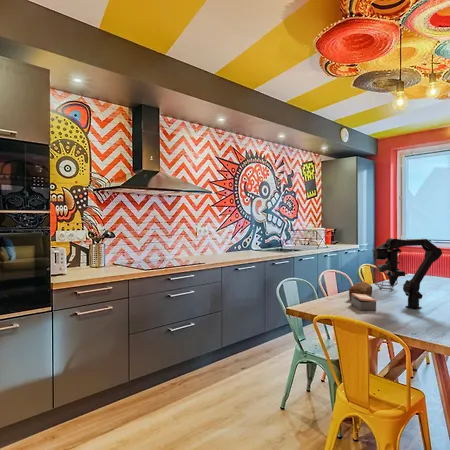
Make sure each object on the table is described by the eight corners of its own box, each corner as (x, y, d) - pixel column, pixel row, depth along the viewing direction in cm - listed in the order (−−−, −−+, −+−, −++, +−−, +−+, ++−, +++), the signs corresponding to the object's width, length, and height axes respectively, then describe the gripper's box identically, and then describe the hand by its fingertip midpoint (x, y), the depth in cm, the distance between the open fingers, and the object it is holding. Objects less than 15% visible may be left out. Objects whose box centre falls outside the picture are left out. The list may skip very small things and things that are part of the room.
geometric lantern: (394, 293, 245) (393, 243, 244) (371, 290, 255) (370, 243, 254) (400, 289, 257) (399, 242, 256) (378, 287, 267) (377, 241, 266)
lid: (365, 296, 212) (366, 294, 212) (376, 302, 198) (376, 300, 198) (351, 294, 212) (351, 293, 212) (360, 300, 198) (360, 298, 198)
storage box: (365, 304, 212) (365, 296, 212) (376, 310, 198) (376, 302, 198) (351, 304, 212) (351, 296, 212) (360, 310, 198) (360, 302, 198)
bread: (356, 295, 239) (357, 280, 239) (373, 297, 232) (373, 282, 232) (348, 300, 224) (348, 284, 224) (365, 302, 218) (365, 287, 217)
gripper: (371, 257, 214) (371, 282, 215) (386, 261, 195) (385, 289, 196) (389, 257, 214) (389, 282, 215) (406, 261, 196) (405, 289, 196)
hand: (392, 285), depth 205 cm, fingers closed
